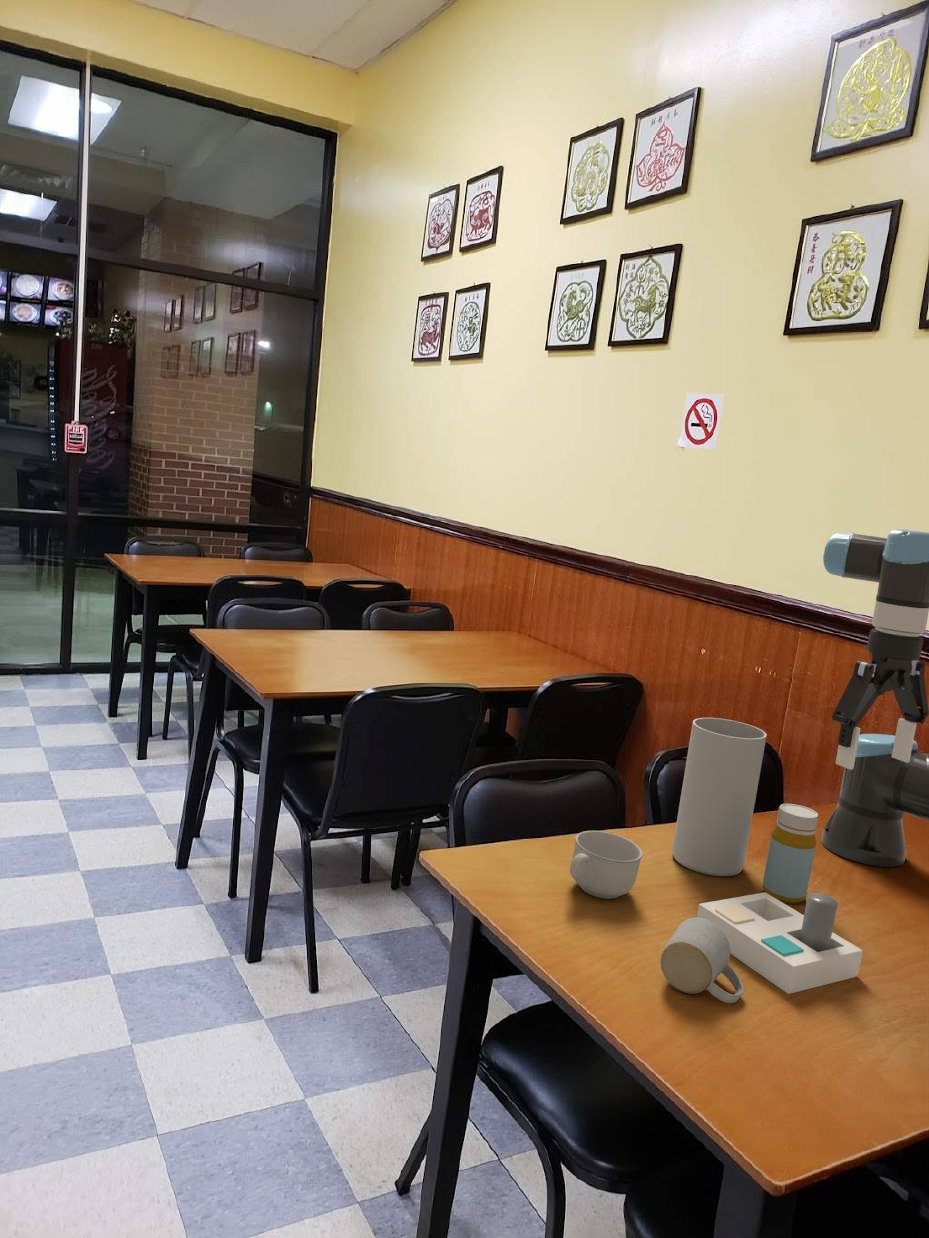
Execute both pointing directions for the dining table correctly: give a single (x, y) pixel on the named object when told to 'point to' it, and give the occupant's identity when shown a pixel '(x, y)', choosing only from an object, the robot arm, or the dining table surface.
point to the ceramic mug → (699, 960)
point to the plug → (818, 921)
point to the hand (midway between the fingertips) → (872, 763)
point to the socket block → (779, 943)
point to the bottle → (791, 854)
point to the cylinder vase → (718, 796)
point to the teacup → (605, 863)
